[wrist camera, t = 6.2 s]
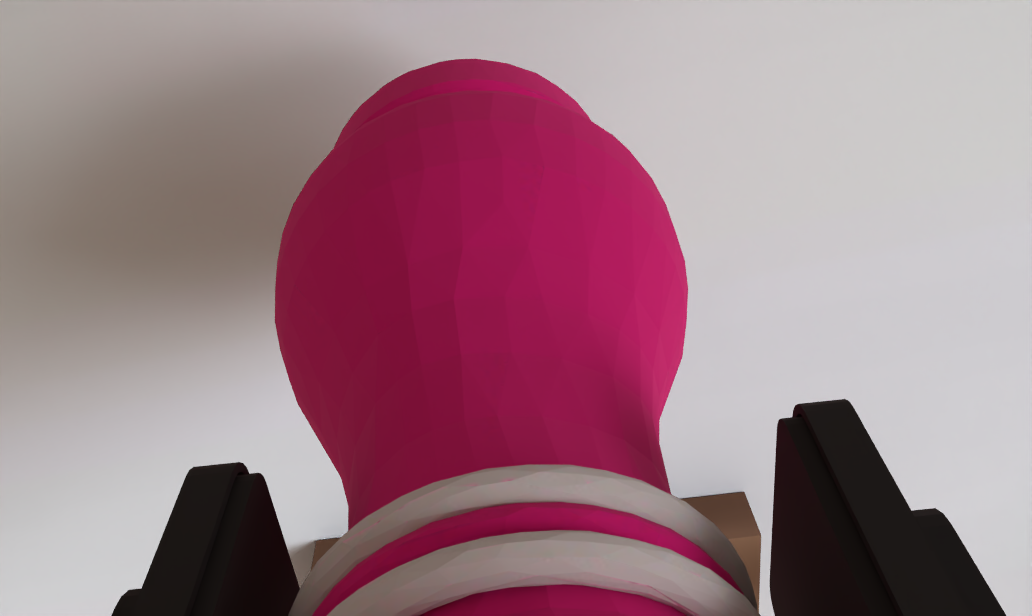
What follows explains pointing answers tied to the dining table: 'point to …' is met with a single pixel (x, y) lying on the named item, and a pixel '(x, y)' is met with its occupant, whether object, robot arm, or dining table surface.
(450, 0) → the dining table surface
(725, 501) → the walnut board
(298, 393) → the pepper mill
